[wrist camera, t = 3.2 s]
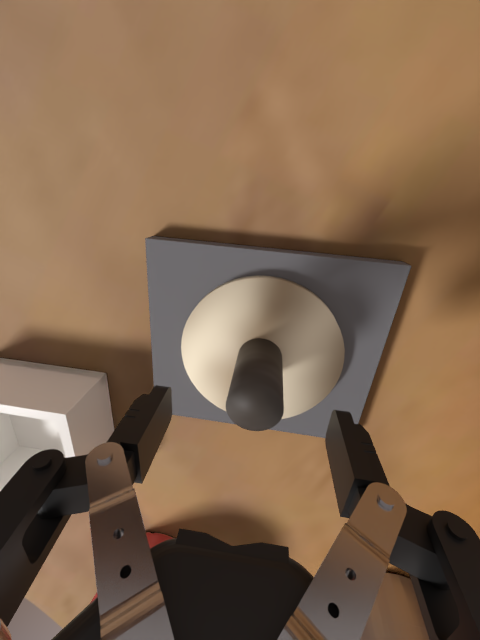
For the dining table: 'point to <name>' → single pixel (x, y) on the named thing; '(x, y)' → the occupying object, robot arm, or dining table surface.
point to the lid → (262, 350)
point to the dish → (50, 412)
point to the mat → (298, 266)
